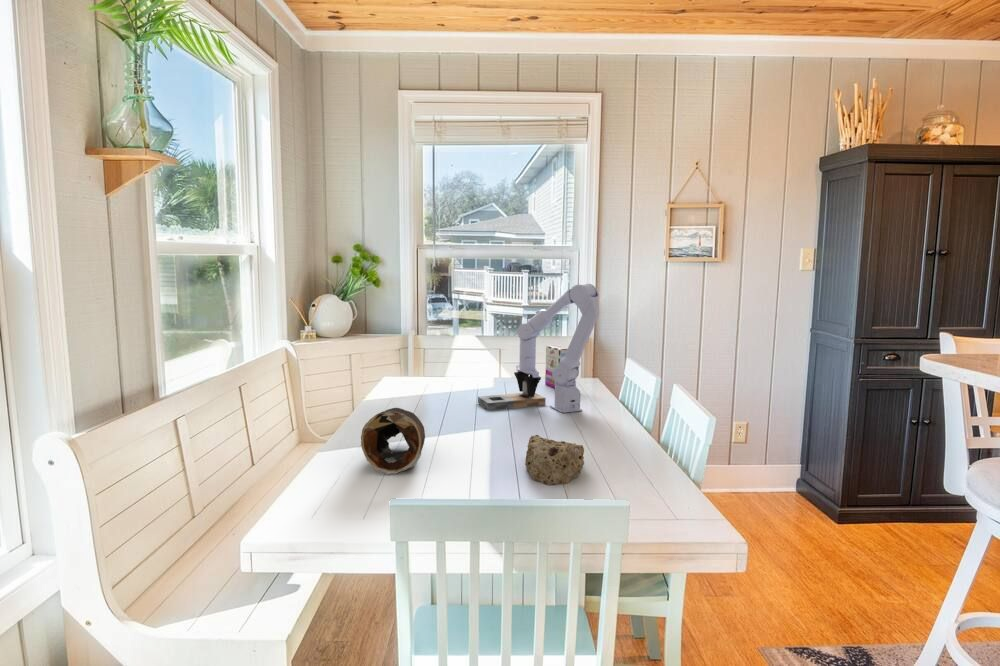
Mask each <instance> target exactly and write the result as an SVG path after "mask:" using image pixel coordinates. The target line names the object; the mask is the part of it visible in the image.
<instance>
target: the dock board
mask: <svg viewBox="0 0 1000 666" xmlns="http://www.w3.org/2000/svg"><path fill="white" fill-rule="evenodd" d="M522 394H523V392H518V393H517V392H516V393H507V394H493V395H492V394H491V395H482V396H477V404H478V403H479V404H480V406H481V405H482V406H484V407H485V408H484V407H483V408H484V409H485V410H487V409H488V410H487V411H493V410H492V409H496V410H505V409H504V408H507V409H514V408H515V409H516V407H517V408H525V406H528V407H535V406H546V397H544V396H542V395H540V394H538V393H536V392H535V395H534V396H531V397H529V398H523V397H522ZM479 404H478V405H479ZM482 406H481V407H482ZM490 409H491V410H490Z"/></svg>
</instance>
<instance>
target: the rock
mask: <svg viewBox="0 0 1000 666" xmlns="http://www.w3.org/2000/svg"><path fill="white" fill-rule="evenodd" d="M584 453H585V448H584V446H583V444H576V443H575V442H574V443H572V442H566V441H563V440H560V441H556V440H553V439H548V438H547V437H546V438H545V437H544V438H543V437H541V436H540V435H538V434H535V435H531V436H530V437H529V440H528V443H527V450H526V453H525V454H526V456H525V461H524V462H525V463H524V465H525V468H526V469H527V470H528V472H529V476H530V477H531V478H532V479H533V481H537V482H540V483H541V484H544V485H548V486H552V485H562V484H563V485H564V484H568V483H569V482H570V481H571V480H572V479H576V478H578V477H579V475H580V474H581V471H582V469H583V467H584V465H585V460H584V459H585V457H584Z"/></svg>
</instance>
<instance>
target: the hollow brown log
mask: <svg viewBox="0 0 1000 666" xmlns="http://www.w3.org/2000/svg"><path fill="white" fill-rule="evenodd" d="M398 434H401V435H402V436H403V438H404V440H405V442H406V443H407V446H408V449H407V450H403V451H398V452H393V450H392V449H391V448H390V443H389V441H388V440H389V439H391V438H392V437H393V438H396V436H397V435H398ZM425 439H426V431H425V426H424V425H423V423H422V421H421V420H420V419H419V416H417V415H416V414H415V413H414V412H412V411H409V410H405V409H403V408H400V407H393V408H389V409H386V410H384V411H381V412H379V413H377V414H375V415H373V416H372V417H371V418H370V419H369V420H368V421H367V422H366V423H365V424H364V426H363V427H362V429H361V436H360V444H361V445H360V446H361V450H362V452H363V455H364V457H365V459H366V461H367V462H368V463H369V464H370V465H371V466H372V467H373V468H374V470H375V471H377V472H379V473H383V474H387V475H395V474H398V473H402V472H404V471H407V470H409V469H413V468H415V466H416V464H417V463H418V461H419V459H420V458H421V456H422V451H423V447H424V445H425ZM398 457H402V458H400V459H398V460H395V461H392V462H389V461H387V460H388V459H392V458H393V459H394V458H398Z"/></svg>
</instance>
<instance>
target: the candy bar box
mask: <svg viewBox="0 0 1000 666" xmlns="http://www.w3.org/2000/svg"><path fill="white" fill-rule="evenodd" d="M545 348H546V349H545V350H546V351H545V372H544V373H545V375H544V376H545V377H544V378H545V380H544V384H545V386H548V387H550V388H553V389H555V381H554V380H553V377H552V372H553V370H554V369H555V368H556V367H557V366H558V365H559V362H560V361H561V360H562V358H563V357H564V356H565V354H566V352H567V349H568V347H563V346H559V345H546V346H545Z"/></svg>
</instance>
